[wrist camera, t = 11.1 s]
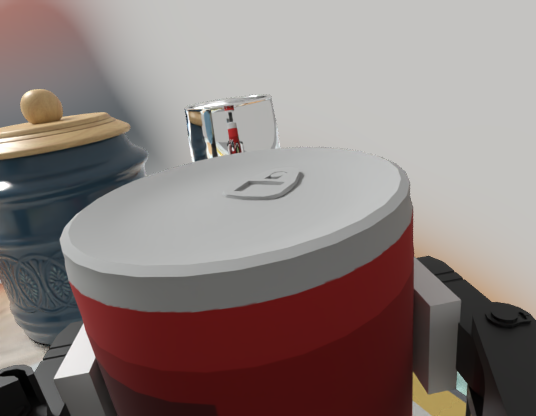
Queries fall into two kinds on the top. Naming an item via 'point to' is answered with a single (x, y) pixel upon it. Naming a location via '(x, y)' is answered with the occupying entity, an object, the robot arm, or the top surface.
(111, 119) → the canister
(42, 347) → the top surface
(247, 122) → the beer glass
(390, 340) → the canned food
